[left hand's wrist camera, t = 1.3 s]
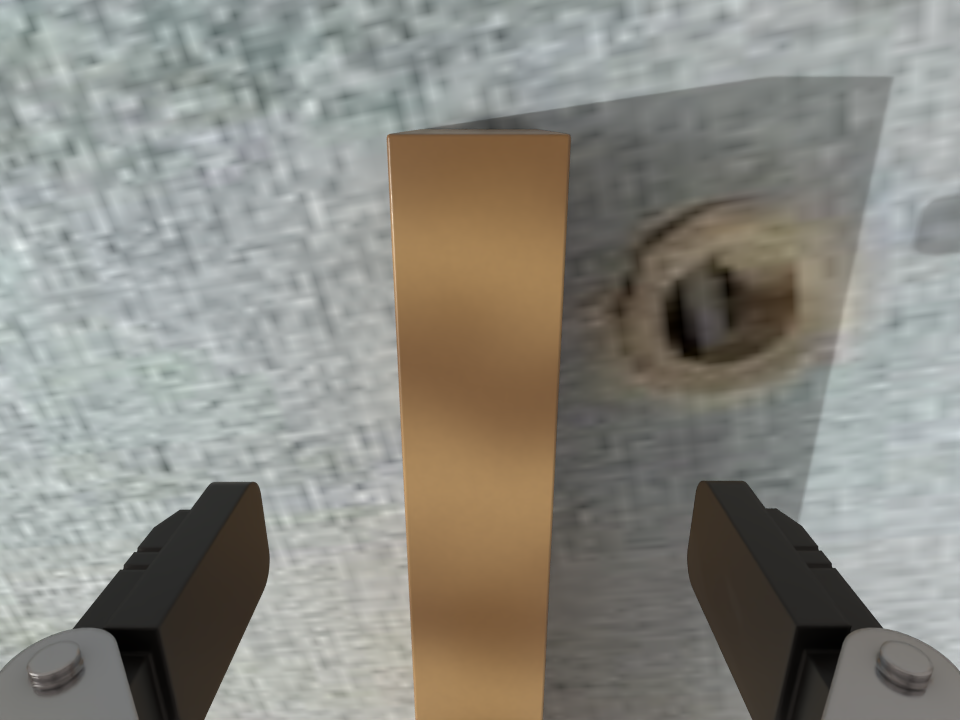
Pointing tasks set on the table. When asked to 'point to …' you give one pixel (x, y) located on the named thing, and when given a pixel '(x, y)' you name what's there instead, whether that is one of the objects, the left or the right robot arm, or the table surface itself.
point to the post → (478, 406)
